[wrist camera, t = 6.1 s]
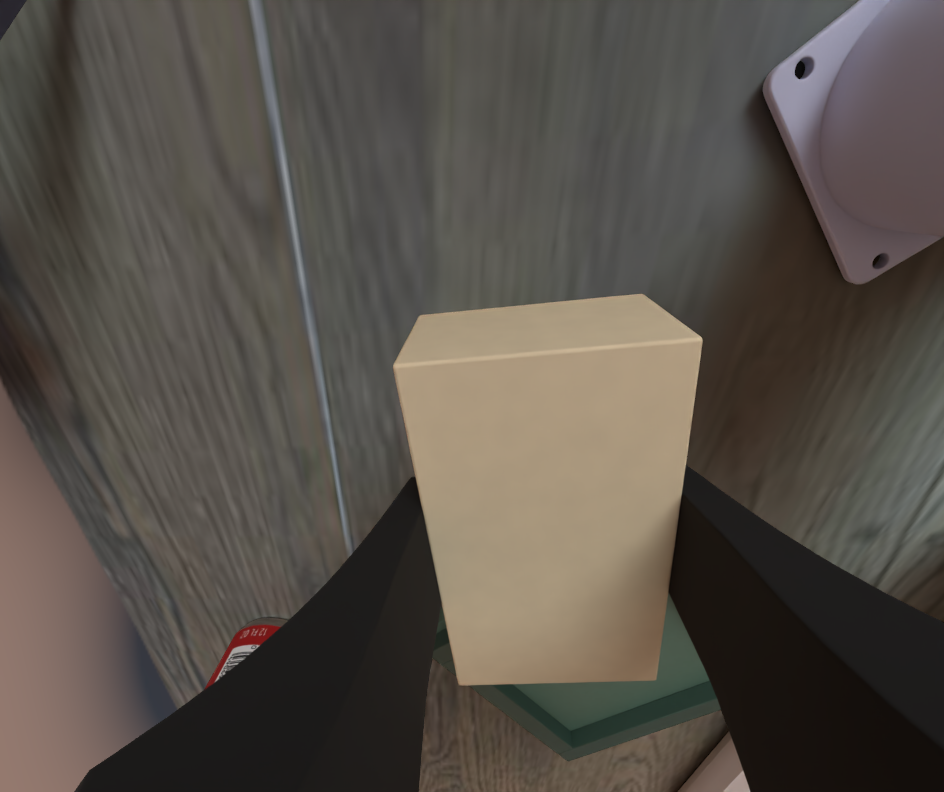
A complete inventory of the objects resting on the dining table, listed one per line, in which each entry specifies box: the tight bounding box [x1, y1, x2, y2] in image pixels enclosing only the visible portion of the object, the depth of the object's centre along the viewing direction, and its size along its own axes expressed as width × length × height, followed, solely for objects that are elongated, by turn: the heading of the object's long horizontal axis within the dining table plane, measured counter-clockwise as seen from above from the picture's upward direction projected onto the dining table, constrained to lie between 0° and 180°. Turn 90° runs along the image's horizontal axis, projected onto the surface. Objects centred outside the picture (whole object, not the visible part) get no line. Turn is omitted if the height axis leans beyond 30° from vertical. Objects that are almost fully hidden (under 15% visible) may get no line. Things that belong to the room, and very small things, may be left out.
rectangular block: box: [393, 294, 703, 685], centre depth 10 cm, size 9×5×3 cm, turn 6°
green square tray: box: [432, 592, 721, 761], centre depth 25 cm, size 15×15×2 cm
